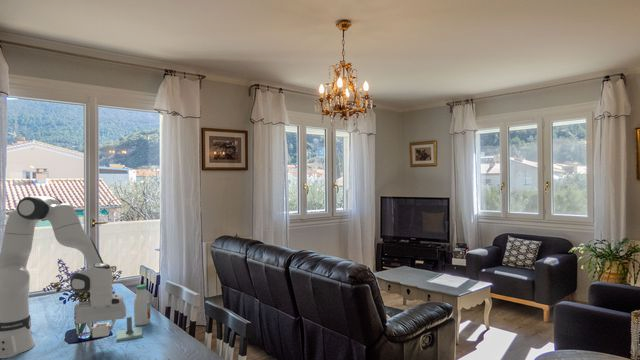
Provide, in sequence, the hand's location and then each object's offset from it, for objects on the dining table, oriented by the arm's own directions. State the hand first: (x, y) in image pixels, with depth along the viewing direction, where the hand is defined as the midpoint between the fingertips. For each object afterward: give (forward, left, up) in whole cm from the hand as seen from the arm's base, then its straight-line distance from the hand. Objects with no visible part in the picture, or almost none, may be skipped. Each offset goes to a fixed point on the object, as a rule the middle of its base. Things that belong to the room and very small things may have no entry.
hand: (101, 330), depth 180 cm
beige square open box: (0, 0, -2) cm, 2 cm away
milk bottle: (+17, +24, -8) cm, 31 cm away
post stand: (+11, +10, -8) cm, 17 cm away
